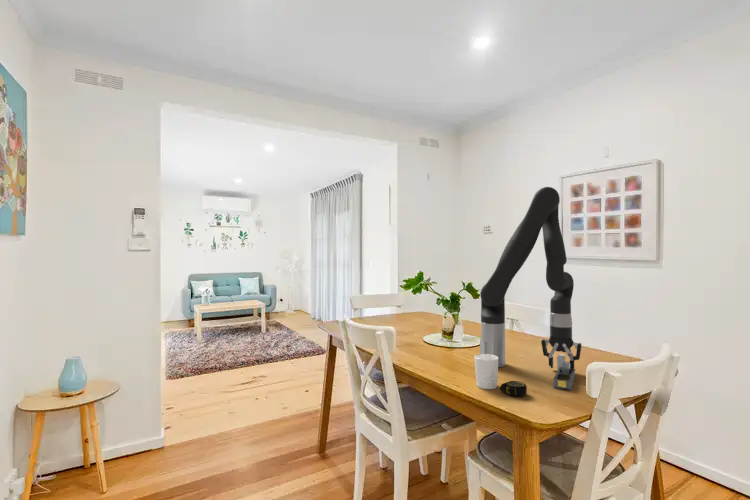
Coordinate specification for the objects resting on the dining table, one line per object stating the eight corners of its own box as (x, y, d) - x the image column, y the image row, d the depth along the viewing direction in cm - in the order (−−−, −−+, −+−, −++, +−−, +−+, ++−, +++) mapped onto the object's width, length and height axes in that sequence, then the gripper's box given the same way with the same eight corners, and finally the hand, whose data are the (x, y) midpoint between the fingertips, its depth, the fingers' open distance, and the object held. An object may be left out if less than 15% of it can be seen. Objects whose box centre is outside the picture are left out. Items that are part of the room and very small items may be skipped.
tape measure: (513, 389, 128) (513, 378, 128) (531, 395, 122) (531, 384, 123) (499, 393, 125) (499, 382, 125) (517, 400, 119) (517, 388, 119)
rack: (570, 391, 125) (570, 374, 125) (553, 388, 128) (553, 371, 128) (575, 377, 139) (575, 361, 139) (559, 374, 141) (559, 359, 141)
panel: (563, 374, 142) (563, 358, 142) (557, 373, 144) (557, 357, 144) (565, 370, 147) (565, 354, 147) (559, 369, 148) (558, 353, 148)
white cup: (480, 380, 137) (480, 352, 137) (502, 385, 132) (501, 356, 132) (471, 386, 131) (470, 357, 131) (493, 392, 126) (492, 361, 126)
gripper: (538, 324, 146) (539, 368, 146) (581, 328, 138) (582, 374, 138) (542, 321, 152) (542, 363, 152) (583, 324, 144) (583, 369, 144)
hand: (561, 368), depth 145 cm, fingers open, 6 cm apart
